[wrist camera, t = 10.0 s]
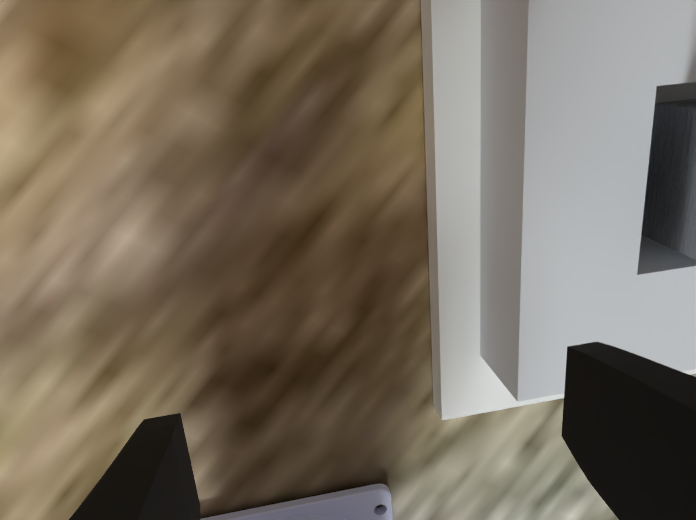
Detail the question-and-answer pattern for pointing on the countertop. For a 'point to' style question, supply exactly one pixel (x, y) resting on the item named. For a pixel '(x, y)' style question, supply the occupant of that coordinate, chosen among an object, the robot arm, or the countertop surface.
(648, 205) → the grey tall block
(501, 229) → the bracket board
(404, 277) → the countertop surface
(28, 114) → the countertop surface
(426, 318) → the countertop surface
